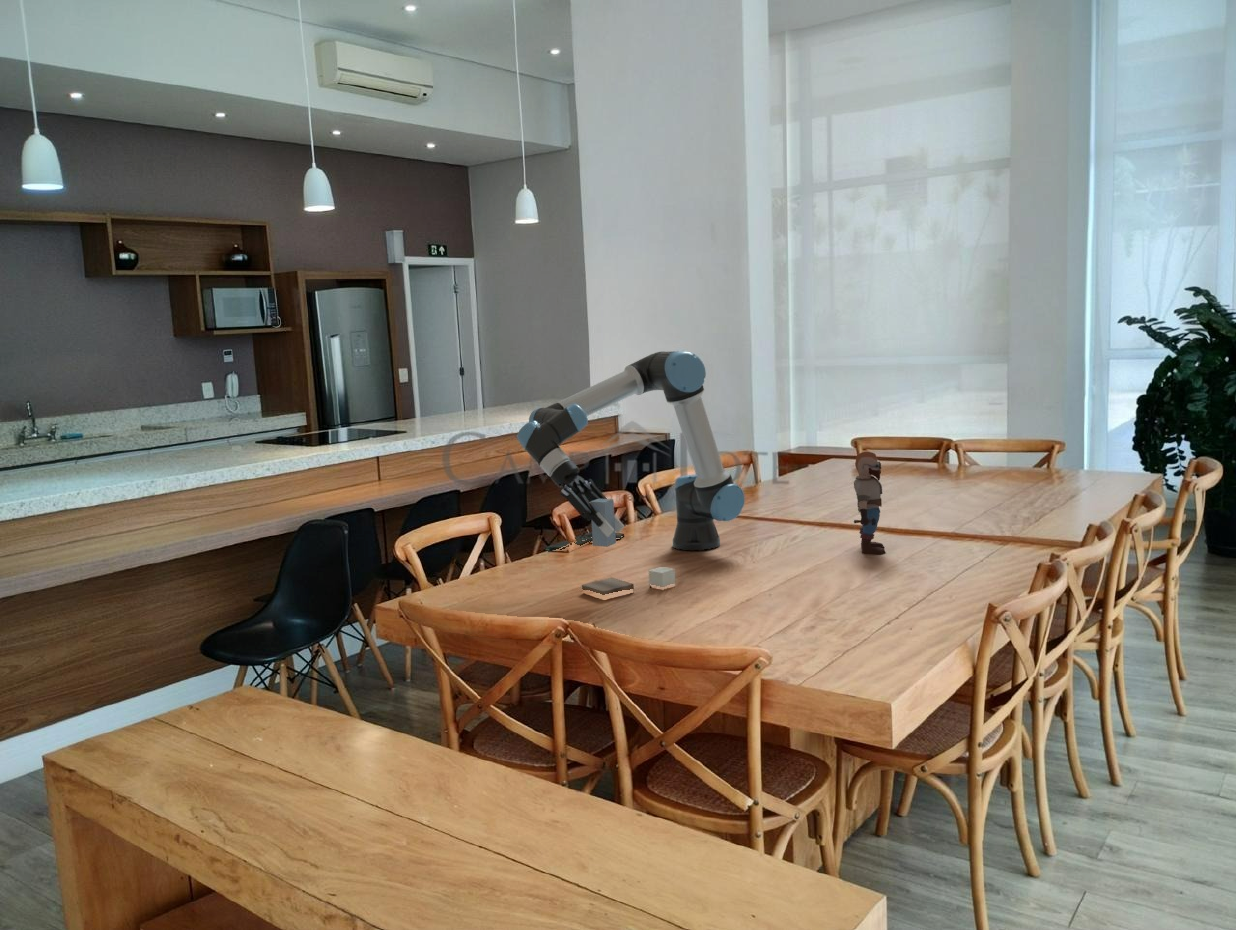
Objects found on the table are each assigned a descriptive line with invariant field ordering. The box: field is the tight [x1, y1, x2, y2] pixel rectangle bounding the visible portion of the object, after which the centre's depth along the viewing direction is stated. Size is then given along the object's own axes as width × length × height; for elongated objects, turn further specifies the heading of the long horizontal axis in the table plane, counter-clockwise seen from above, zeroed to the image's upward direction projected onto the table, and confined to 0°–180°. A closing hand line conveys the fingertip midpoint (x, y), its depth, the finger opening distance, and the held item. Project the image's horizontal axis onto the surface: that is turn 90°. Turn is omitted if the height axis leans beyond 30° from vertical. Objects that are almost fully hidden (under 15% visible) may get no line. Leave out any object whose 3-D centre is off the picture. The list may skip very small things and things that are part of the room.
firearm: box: [544, 531, 625, 552], centre depth 328 cm, size 28×2×15 cm
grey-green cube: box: [648, 566, 676, 587], centre depth 268 cm, size 5×5×5 cm
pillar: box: [590, 498, 617, 548], centre depth 263 cm, size 4×4×12 cm
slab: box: [581, 577, 635, 595], centre depth 265 cm, size 10×10×3 cm
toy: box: [853, 451, 887, 555], centre depth 294 cm, size 22×9×30 cm, turn 168°
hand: (615, 531), depth 261 cm, fingers closed on pillar, 4 cm apart
